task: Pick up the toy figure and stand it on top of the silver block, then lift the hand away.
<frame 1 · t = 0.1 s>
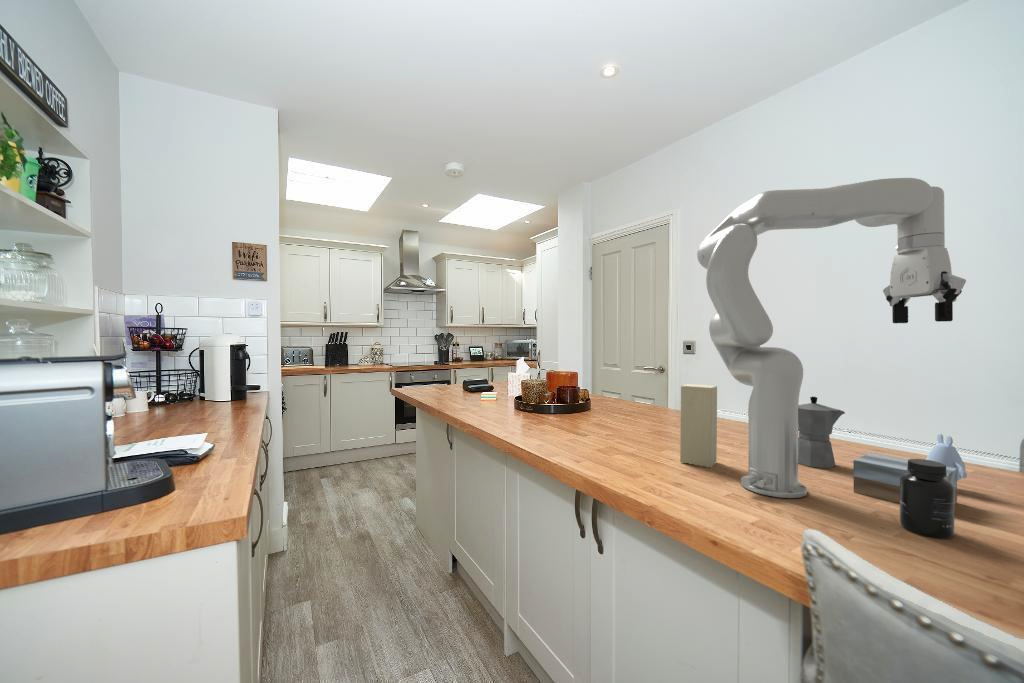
hand: (920, 322, 93), 37 cm above the countertop, tool pointing down, fingers open, 9 cm apart
toy figure: (944, 489, 93), on the countertop
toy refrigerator: (699, 463, 114), on the countertop
coffeepot: (809, 463, 113), on the countertop
silver block: (903, 497, 88), on the countertop
supplement bottle: (926, 531, 73), on the countertop
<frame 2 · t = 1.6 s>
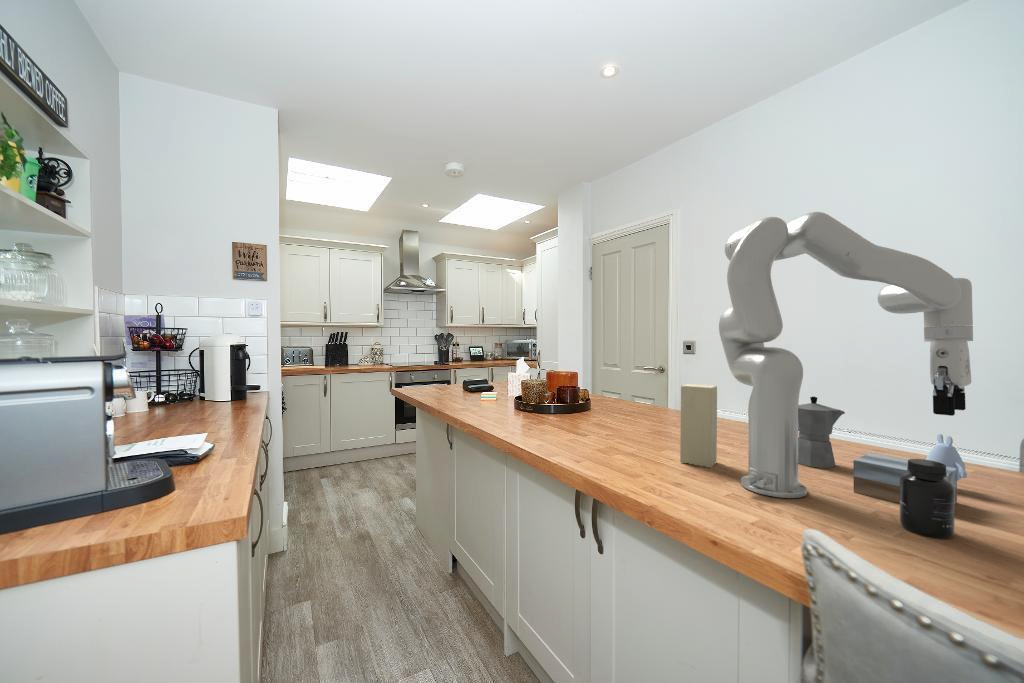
hand: (949, 411, 93), 17 cm above the countertop, tool pointing down, fingers open, 9 cm apart
nothing on the countertop moved.
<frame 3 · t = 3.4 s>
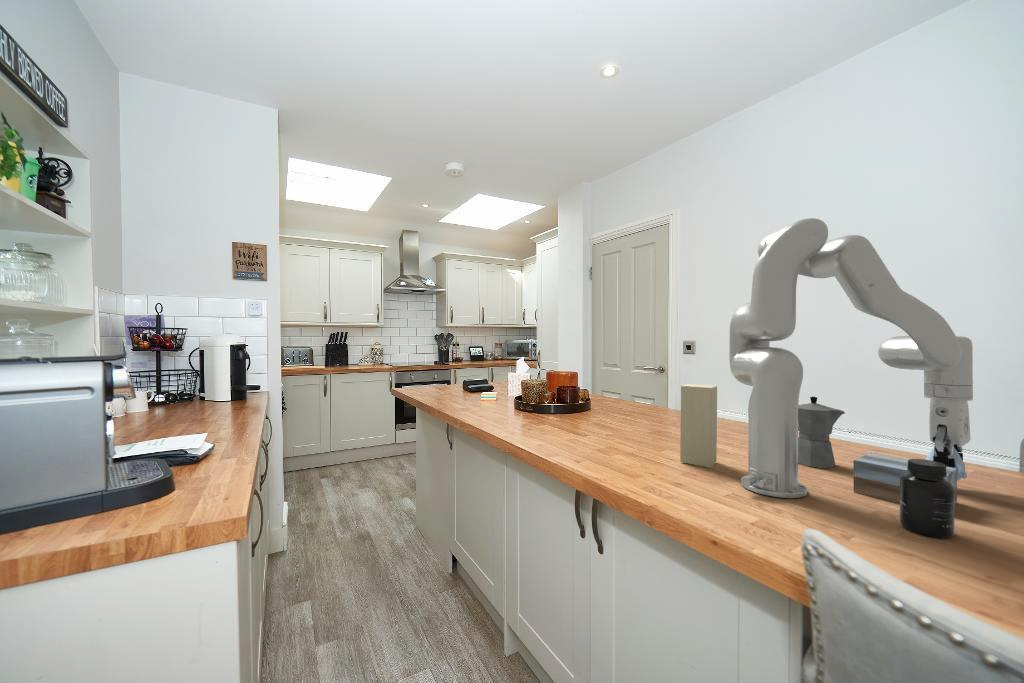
hand: (948, 471, 93), 4 cm above the countertop, tool pointing down, fingers closed on toy figure, 6 cm apart
toy figure: (944, 489, 93), on the countertop, touching gripper
everything else where it was.
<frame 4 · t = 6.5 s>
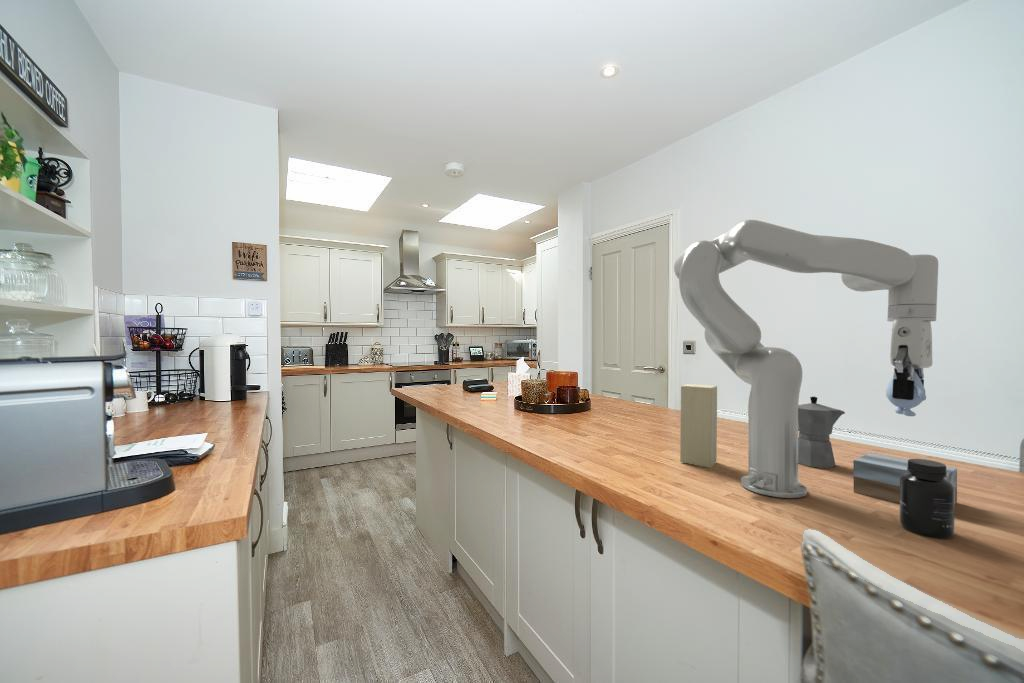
hand: (907, 397, 89), 21 cm above the countertop, tool pointing down, fingers closed on toy figure, 6 cm apart
toy figure: (904, 415, 90), point 17 cm above the countertop, touching gripper
everything else where it was.
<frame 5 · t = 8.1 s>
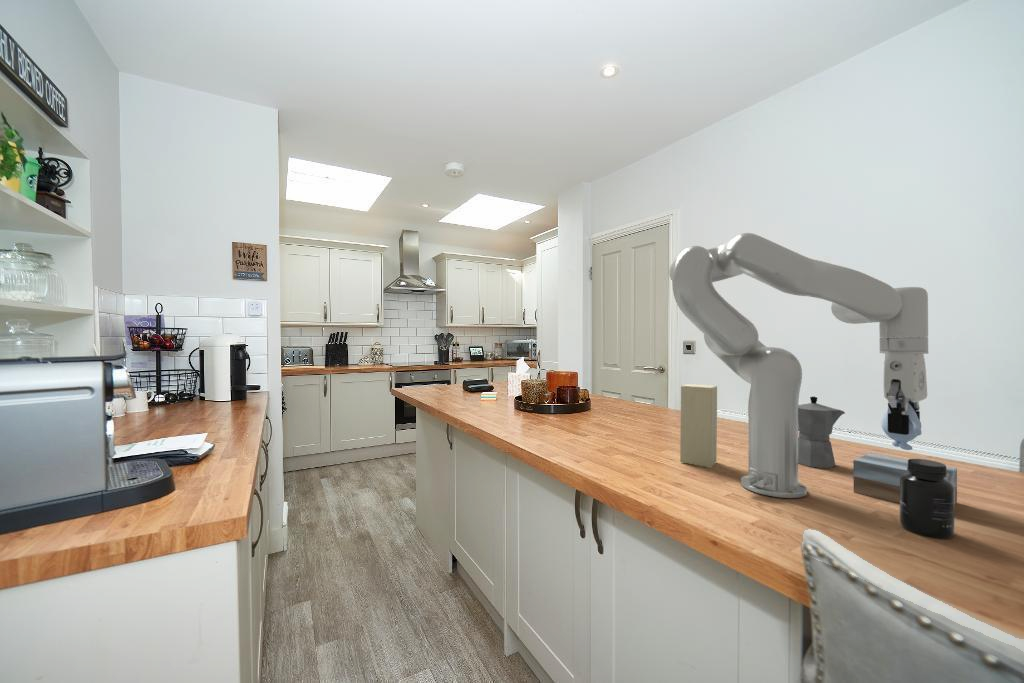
hand: (904, 430, 88), 14 cm above the countertop, tool pointing down, fingers closed on toy figure, 6 cm apart
toy figure: (901, 448, 89), point 10 cm above the countertop, touching gripper
everything else where it was.
when the fingers open (12 cm above the countertop, at t = 9.4 s): toy figure drops 1 cm, resting on silver block.
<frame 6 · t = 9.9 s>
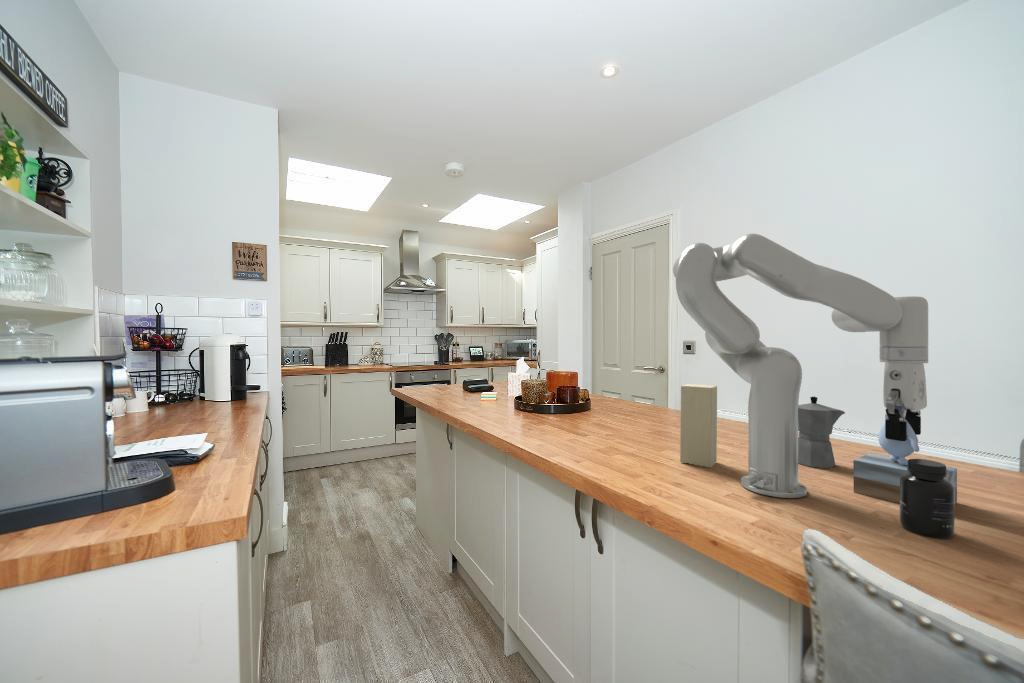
hand: (903, 436, 88), 13 cm above the countertop, tool pointing down, fingers open, 9 cm apart
toy figure: (899, 463, 89), point 7 cm above the countertop, touching silver block
everything else where it was.
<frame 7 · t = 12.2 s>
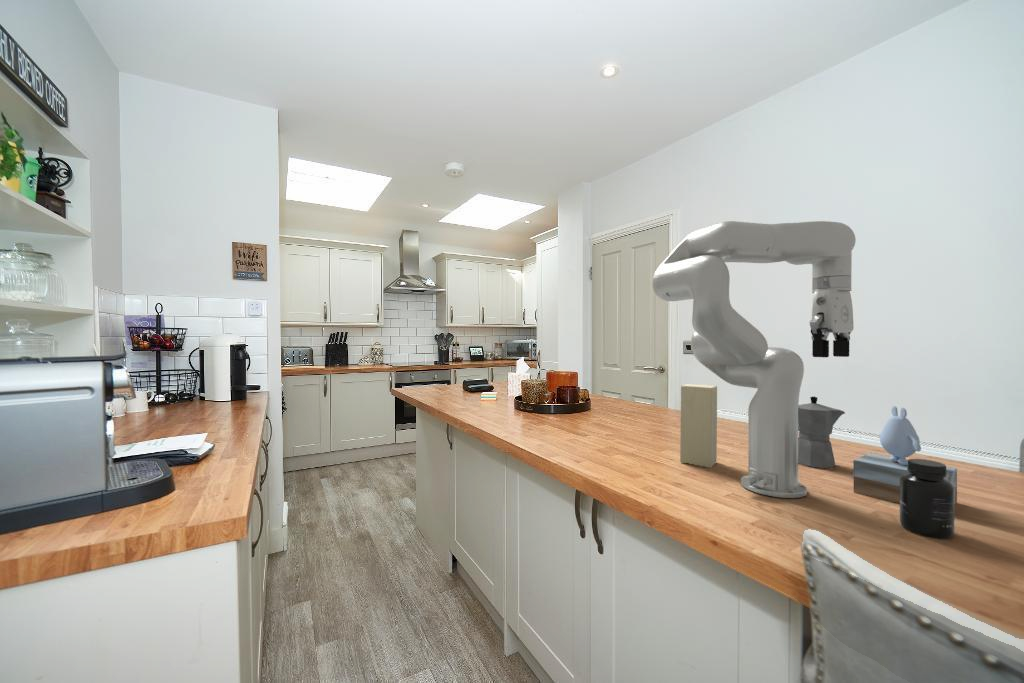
hand: (831, 356, 101), 29 cm above the countertop, tool pointing down, fingers open, 9 cm apart
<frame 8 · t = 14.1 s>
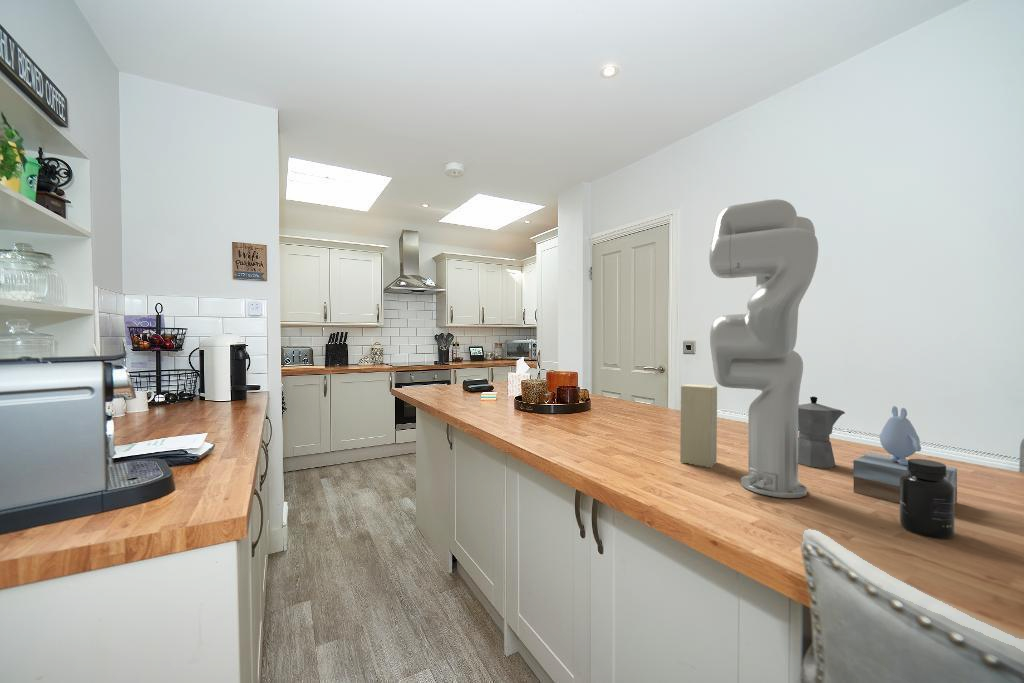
hand: (772, 343, 114), 32 cm above the countertop, tool pointing down, fingers open, 9 cm apart
nothing on the countertop moved.
at the end: toy figure inside the target area on the silver block (0.6 cm from its centre), point 6.8 cm above the silver block's base; toy figure tilted 0°; the gripper is holding nothing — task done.
